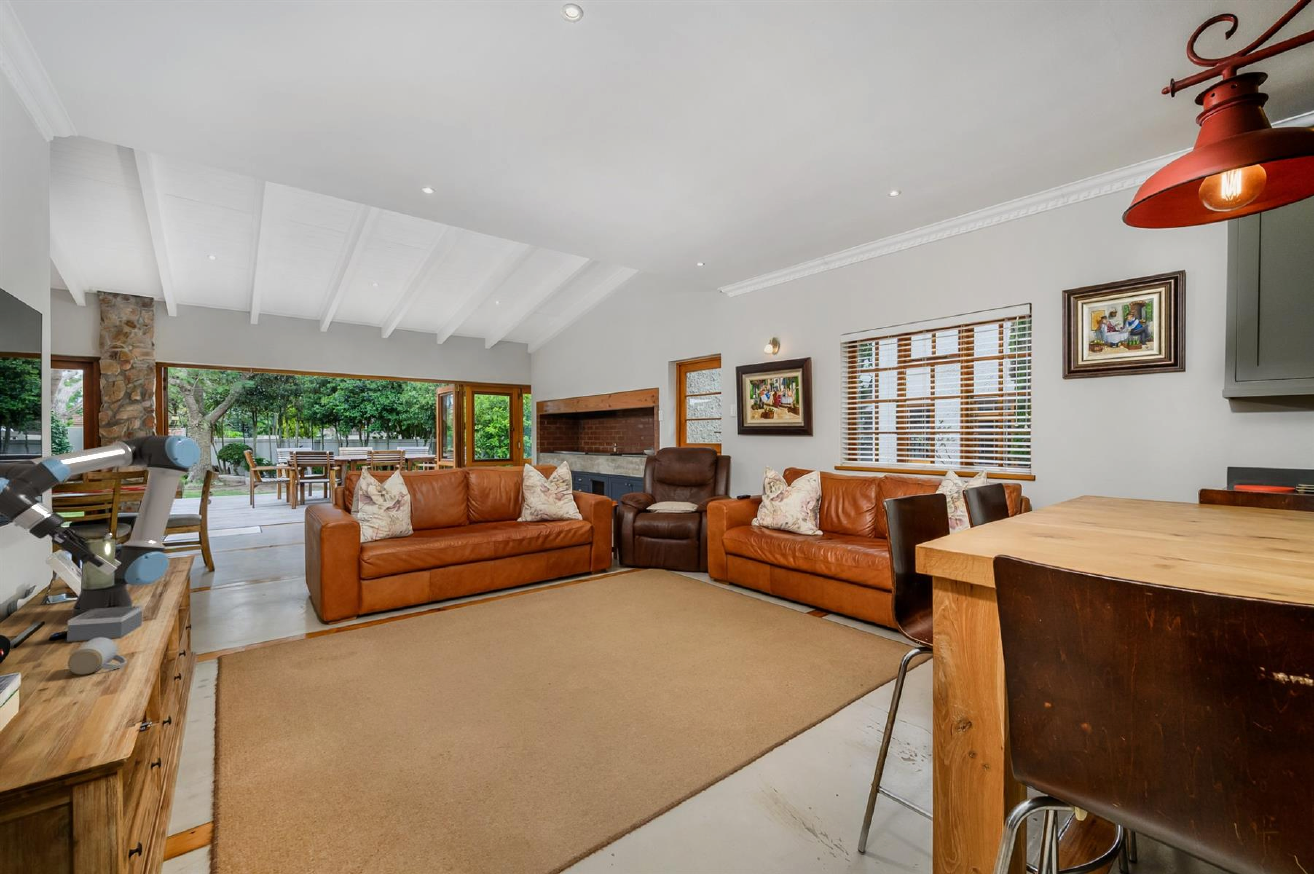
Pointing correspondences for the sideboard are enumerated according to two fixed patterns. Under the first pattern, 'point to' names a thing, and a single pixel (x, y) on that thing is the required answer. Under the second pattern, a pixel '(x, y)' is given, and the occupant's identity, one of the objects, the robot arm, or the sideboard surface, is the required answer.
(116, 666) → the ceramic mug
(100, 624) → the grey rectangular tray
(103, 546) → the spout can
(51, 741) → the sideboard surface
